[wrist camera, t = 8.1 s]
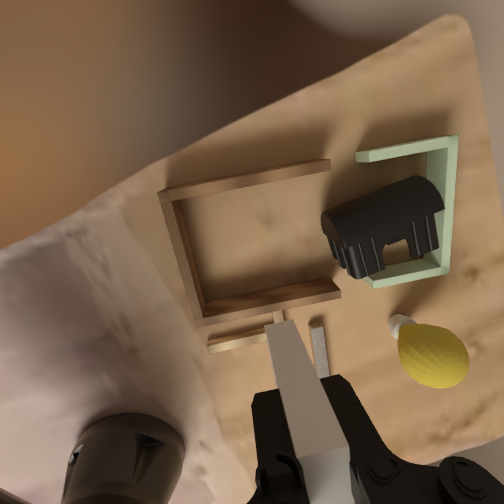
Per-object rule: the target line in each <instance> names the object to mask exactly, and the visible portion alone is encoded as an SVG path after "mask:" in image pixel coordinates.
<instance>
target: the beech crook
mask: <svg viewBox="0 0 504 504" xmlns="http://www.w3.org/2000/svg"><path fill="white" fill-rule="evenodd" d="M272 316H273V320H274V323H278V322H282V321H284V319H283V313H282V310H281V311H276V312H272ZM264 341H267V338H266V333H265V328H260V329H256V330H251V331H247V332H243V333H238V334H234V335H229V336H225V337H221V338H216V339H212V340H208V342H207V348H208V351H209V354H212V353H216V352H220V351H225V350H229V349H234V348H238V347H242V346H247V345H251V344H255V343H260V342H264Z"/></svg>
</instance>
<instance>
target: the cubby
mask: <svg viewBox="0 0 504 504" xmlns="http://www.w3.org/2000/svg"><path fill="white" fill-rule="evenodd" d="M330 170H331V159H318V160H312V161H307V162H302V163H297V164H291V165H286V166H281V167H276V168H271V169H265V170H260V171H255V172H250V173H244V174H239V175H234V176H229V177H224V178H218V179H213V180H208V181H203V182H198V183H192V184H187V185H182V186H177V187H171V188H166V189H164V190H162V191H159V192H157V193H158V197H159V200H160V203H161V207H162V210H163V214H164V217H165V221H166V224H167V228H168V231H169V234H170V238H171V241H172V245H173V248H174V252H175V255H176V259H177V262H178V265H179V269H180V272H181V276H182V279H183V283H184V286H185V289H186V293H187V296H188V300H189V303H190V307H191V310H192V314H193V317H194V320H195V324H196V327H197V328H198V327H203V326H208V325H213V324H217V323H222V322H227V321H232V320H237V319H242V318H247V317H251V316H256V315H261V314H266V313H271V312H276V311H281V310H285V309H290V308H295V307H300V306H305V305H310V304H315V303H319V302H324V301H329V300H334V299H339V298H341V290H340V289H339V288H338V286H337V285H336V284H335V283H334V282H333V281H332V280H331V278H330V277H329V278H324V279H319V280H314V281H309V282H304V283H299V284H294V285H289V286H285V287H280V288H275V289H270V290H265V291H260V292H255V293H250V294H245V295H240V296H235V297H230V298H226V299H221V300H216V301H211V302H205V298H204V295H203V291H202V287H201V283H200V280H199V276H198V272H197V268H196V265H195V261H194V257H193V253H192V250H191V246H190V242H189V239H188V235H187V231H186V227H185V224H184V220H183V216H182V212H181V209H180V205H179V201H178V200H180V199H185V198H190V197H195V196H200V195H205V194H211V193H216V192H221V191H226V190H231V189H237V188H242V187H247V186H252V185H257V184H262V183H268V182H273V181H278V180H283V179H288V178H294V177H299V176H304V175H309V174H314V173H319V172H325V171H330Z"/></svg>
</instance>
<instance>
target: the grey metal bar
mask: <svg viewBox="0 0 504 504" xmlns="http://www.w3.org/2000/svg"><path fill="white" fill-rule="evenodd" d="M308 328H309V334H310V341H311V347H312V354H313V361H314V367H315V370H316V373H317V375H318V377H319V379H320V378H324V377H329V369H328V361H327V353H326V346H325V338H324V330H323V326H322V324H321V322H320V321H318V322H314V323H309V324H308Z"/></svg>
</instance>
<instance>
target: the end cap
mask: <svg viewBox="0 0 504 504" xmlns="http://www.w3.org/2000/svg"><path fill="white" fill-rule="evenodd" d="M444 209H445V205H444V202H443V199H442V196H441V194H440V193H439V191H438V189H437V188H436V187H435V185H434V184H433V183H432V182H430V181H429V180H428V179H426V178H424V177H422V176H411V177H409V178H406V179H404V180H401V181H399V182H396V183H394V184H391V185H389V186H386V187H384V188H381V189H379V190H376V191H374V192H371V193H369V194H366V195H364V196H361V197H359V198H357V199H354V200H352V201H349V202H347V203H344V204H342V205H339V206H337V207H334V208H332V209H329V210H327V211H324V212H323V213H322V214H321V226H322V230H323V233H324V234H325V235H326V236H327V238H328V242H329V245H330V248H331V251H332V255H333V257H334V258H335V259H337V260H338V263H339V266H340V267H342V268H343V269H345V268H347V272H348V275H350V276H352V277H353V278H354V279H362V278H365V277H367V276H370V275H372V274H375V273H377V272H380V271H382V270H385V265H384V261H383V257H382V251H383V248H384V246H385V244H387V245H390V244H393V243H396V242H398V241H401V240H403V239H405V240H406V241H407V244H408V248H409V253H410V257H411V258H416V257H418V256H421V255H423V254H426V253H428V252H431V251H434V250H436V249H438V248H439V241H438V235H437V228H436V222H435V216H434V213H437V212H439V211H442V210H444Z"/></svg>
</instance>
